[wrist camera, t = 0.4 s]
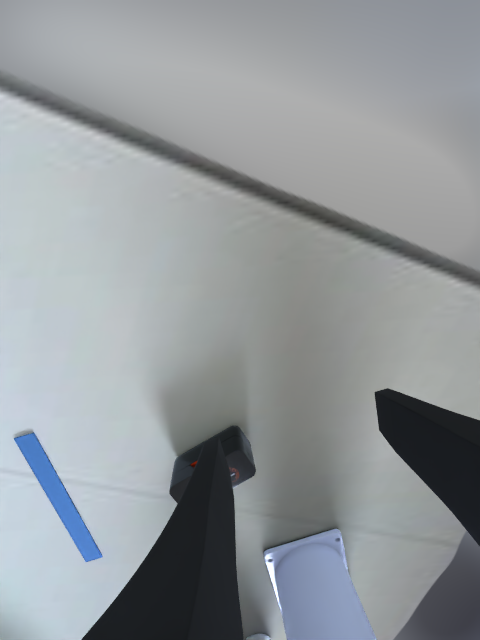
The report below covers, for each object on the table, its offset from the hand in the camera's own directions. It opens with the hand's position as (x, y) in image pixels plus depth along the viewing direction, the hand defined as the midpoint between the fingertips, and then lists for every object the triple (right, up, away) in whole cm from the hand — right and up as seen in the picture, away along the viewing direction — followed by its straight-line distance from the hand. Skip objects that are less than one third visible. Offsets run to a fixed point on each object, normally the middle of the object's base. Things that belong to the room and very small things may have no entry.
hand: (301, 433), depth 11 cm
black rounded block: (-5, -7, +11) cm, 14 cm away
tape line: (-18, -11, +11) cm, 23 cm away
